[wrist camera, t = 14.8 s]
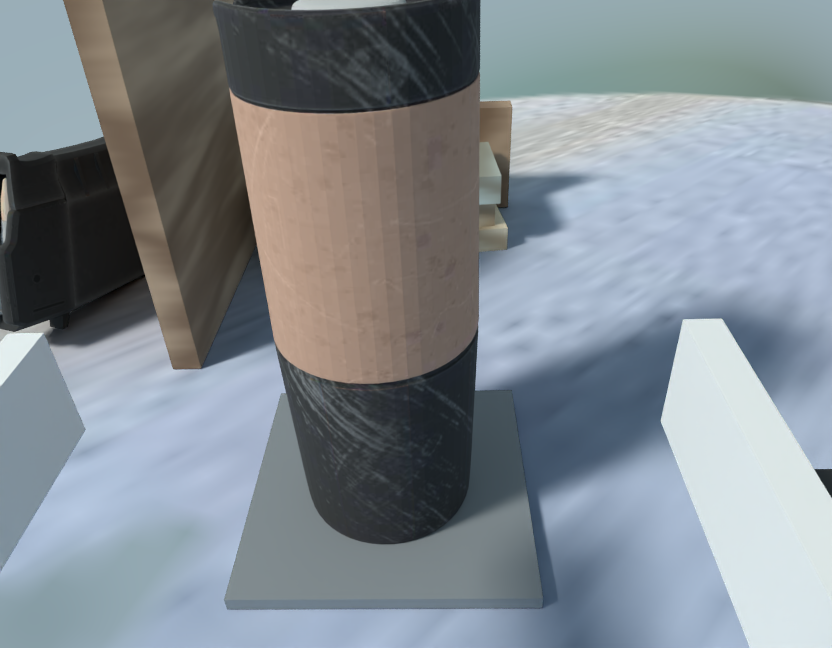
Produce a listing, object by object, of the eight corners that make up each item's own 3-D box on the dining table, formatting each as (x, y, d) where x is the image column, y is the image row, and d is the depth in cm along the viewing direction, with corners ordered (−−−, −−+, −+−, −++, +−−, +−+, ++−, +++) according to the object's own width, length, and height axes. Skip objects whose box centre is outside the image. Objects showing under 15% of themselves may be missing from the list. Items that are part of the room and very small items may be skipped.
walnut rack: (505, 198, 56) (518, -84, 45) (541, 363, 38) (577, -42, 27) (255, 204, 57) (204, -72, 46) (173, 368, 39) (56, -23, 27)
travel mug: (512, 482, 30) (542, -22, 19) (376, 586, 26) (311, 25, 15) (399, 400, 35) (370, -41, 24) (270, 477, 31) (161, -9, 20)
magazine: (253, 61, 61) (-74, 21, 34) (286, 63, 60) (-25, 23, 33) (255, 249, 66) (-26, 345, 39) (285, 254, 65) (18, 354, 38)
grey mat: (511, 399, 36) (511, 390, 35) (542, 608, 26) (543, 598, 25) (282, 402, 36) (281, 393, 36) (227, 609, 26) (224, 600, 26)
